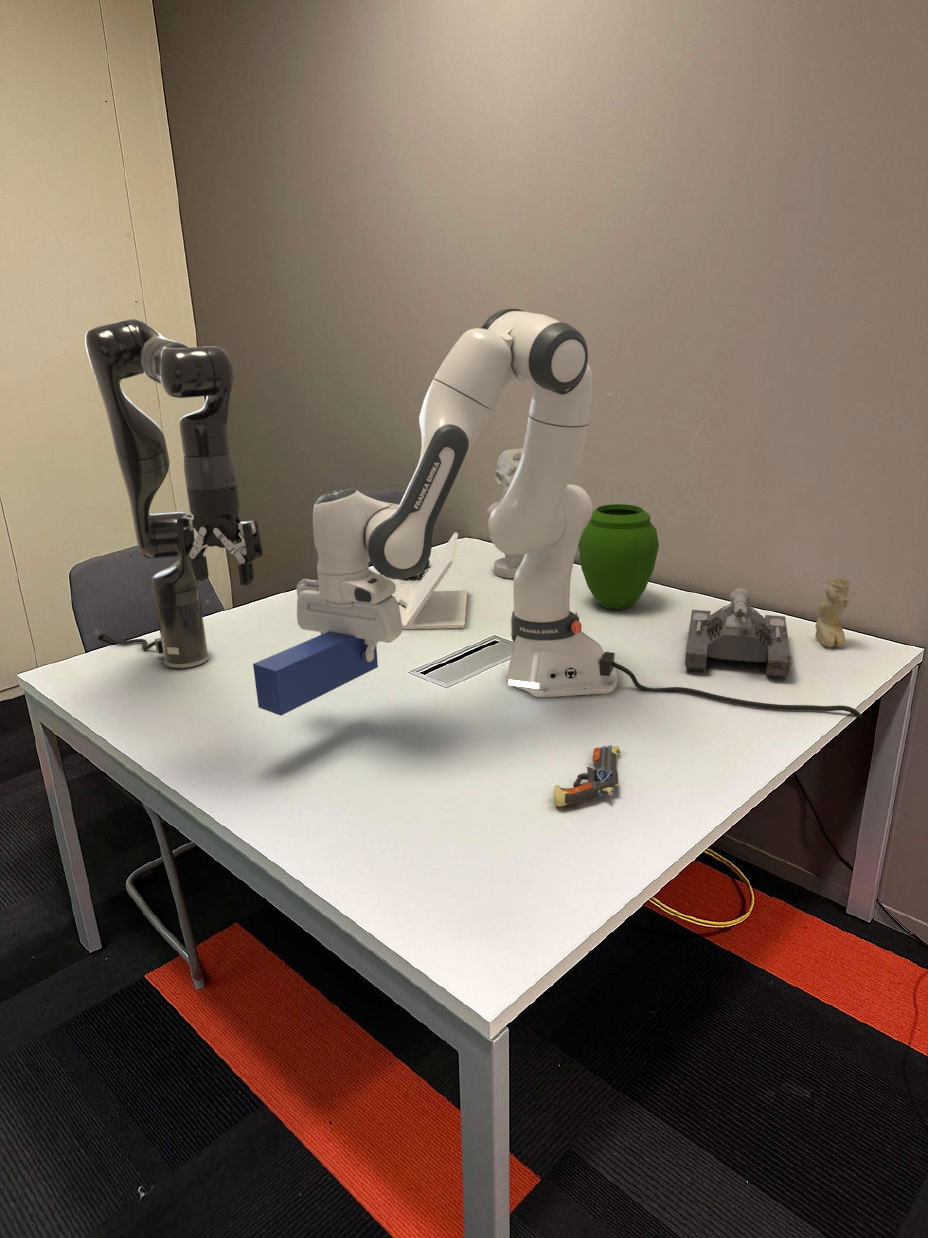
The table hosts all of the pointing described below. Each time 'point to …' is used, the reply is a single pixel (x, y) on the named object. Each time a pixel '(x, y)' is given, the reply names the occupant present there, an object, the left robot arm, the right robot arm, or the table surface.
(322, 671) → the bar
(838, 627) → the sculpture
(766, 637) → the toy
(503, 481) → the bust sculpture
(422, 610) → the tablet stand
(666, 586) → the table surface
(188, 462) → the left robot arm
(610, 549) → the vase
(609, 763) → the toy gun
